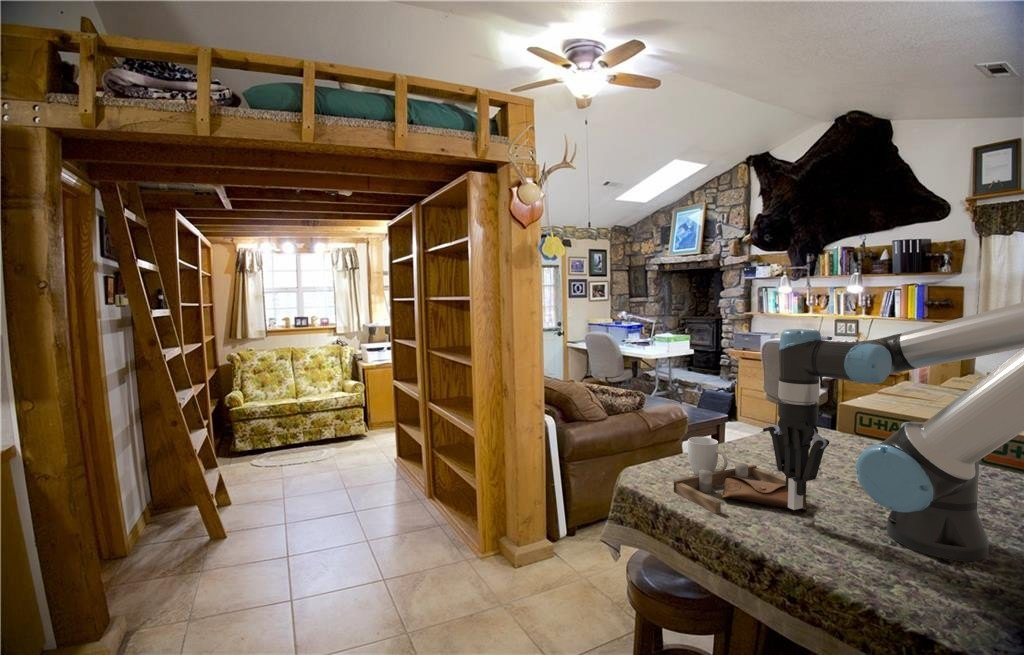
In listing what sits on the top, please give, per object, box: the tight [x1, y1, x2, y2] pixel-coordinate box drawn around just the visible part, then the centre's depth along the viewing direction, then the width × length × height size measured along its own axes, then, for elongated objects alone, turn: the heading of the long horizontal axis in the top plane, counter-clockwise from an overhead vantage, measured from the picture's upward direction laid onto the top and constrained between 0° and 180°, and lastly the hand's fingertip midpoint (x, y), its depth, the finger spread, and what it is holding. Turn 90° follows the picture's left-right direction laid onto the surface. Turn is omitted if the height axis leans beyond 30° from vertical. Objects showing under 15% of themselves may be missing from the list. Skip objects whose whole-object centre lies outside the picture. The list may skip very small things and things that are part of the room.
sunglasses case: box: [721, 476, 808, 510], centre depth 116 cm, size 18×7×7 cm
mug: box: [687, 436, 729, 476], centre depth 134 cm, size 11×8×9 cm
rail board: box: [673, 462, 786, 514], centre depth 122 cm, size 14×27×5 cm, turn 112°
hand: (795, 507), depth 107 cm, fingers closed
